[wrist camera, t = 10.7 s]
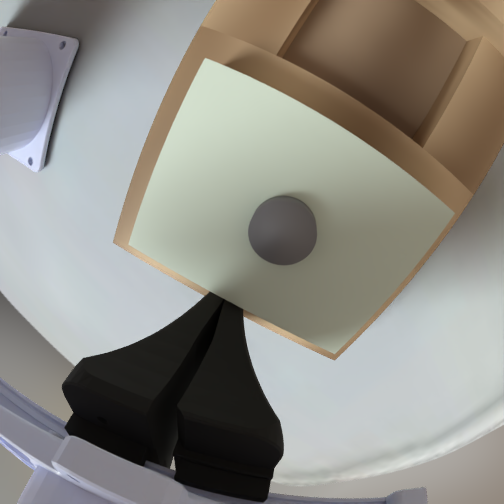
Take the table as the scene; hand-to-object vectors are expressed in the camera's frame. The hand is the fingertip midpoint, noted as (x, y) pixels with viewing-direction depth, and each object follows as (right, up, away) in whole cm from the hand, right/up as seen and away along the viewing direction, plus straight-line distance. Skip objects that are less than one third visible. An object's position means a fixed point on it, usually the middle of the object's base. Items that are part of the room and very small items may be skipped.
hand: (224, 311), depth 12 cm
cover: (+2, +4, -2) cm, 5 cm away
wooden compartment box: (+4, +8, -2) cm, 9 cm away
